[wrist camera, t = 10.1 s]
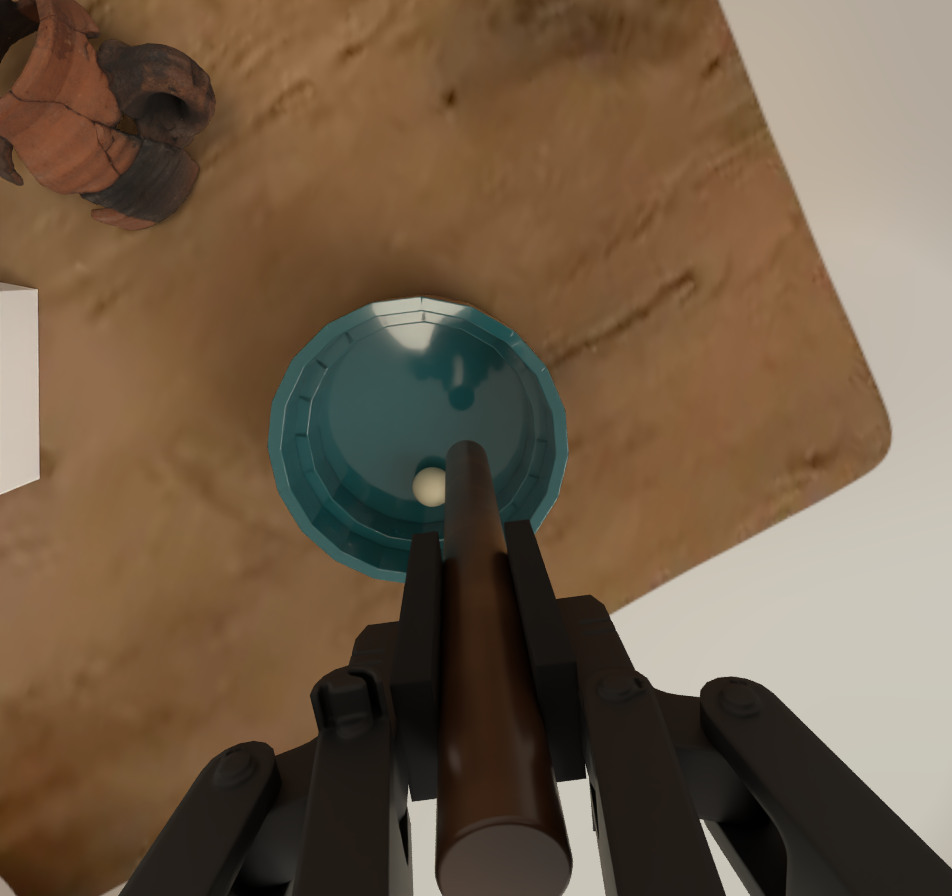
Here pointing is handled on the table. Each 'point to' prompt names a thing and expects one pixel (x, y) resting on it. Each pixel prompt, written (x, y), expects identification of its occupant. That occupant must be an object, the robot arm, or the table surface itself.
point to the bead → (430, 486)
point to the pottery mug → (101, 114)
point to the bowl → (410, 425)
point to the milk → (18, 387)
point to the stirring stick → (489, 712)
